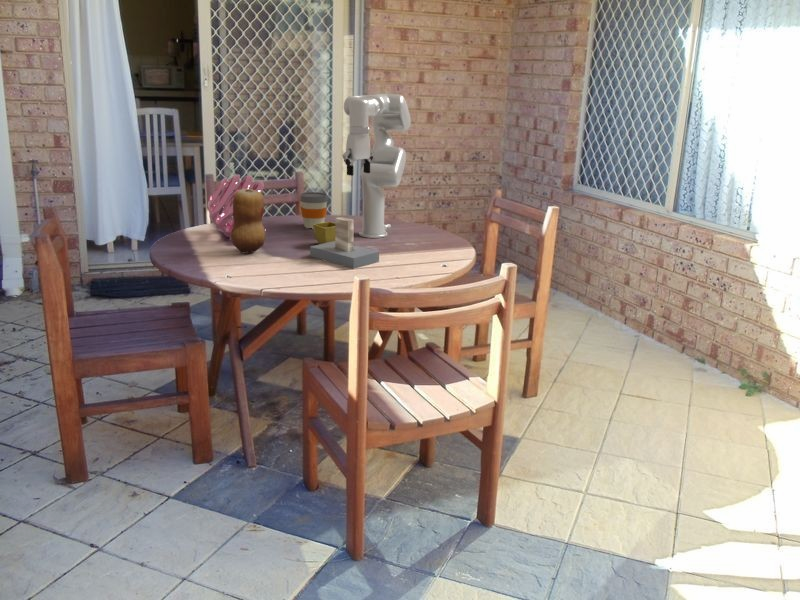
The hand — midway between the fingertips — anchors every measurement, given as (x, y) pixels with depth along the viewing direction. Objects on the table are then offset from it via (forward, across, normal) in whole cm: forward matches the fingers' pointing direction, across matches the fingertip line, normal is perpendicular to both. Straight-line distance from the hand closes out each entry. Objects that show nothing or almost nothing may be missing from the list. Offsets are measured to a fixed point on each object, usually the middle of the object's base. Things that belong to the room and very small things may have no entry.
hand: (358, 173), depth 297 cm
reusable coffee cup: (+31, -12, -40) cm, 52 cm away
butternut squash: (+31, +38, -24) cm, 54 cm away
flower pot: (+31, +8, -10) cm, 33 cm away
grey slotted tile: (+30, +18, +10) cm, 37 cm away
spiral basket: (+31, +25, -48) cm, 62 cm away
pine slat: (+30, +18, +10) cm, 37 cm away
